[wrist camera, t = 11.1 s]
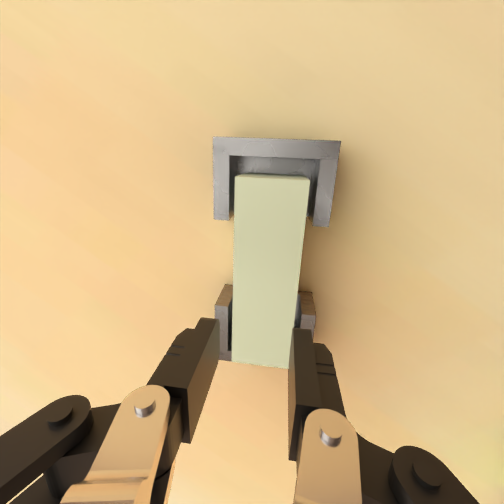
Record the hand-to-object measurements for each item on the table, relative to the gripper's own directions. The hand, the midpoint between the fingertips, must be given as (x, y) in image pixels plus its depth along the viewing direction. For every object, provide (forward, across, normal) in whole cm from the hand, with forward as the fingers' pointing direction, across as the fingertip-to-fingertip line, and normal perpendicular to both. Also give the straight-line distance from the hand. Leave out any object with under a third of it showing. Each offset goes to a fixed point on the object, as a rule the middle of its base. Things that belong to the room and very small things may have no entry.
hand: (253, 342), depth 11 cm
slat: (+11, 0, 0) cm, 11 cm away
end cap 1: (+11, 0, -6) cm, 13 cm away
